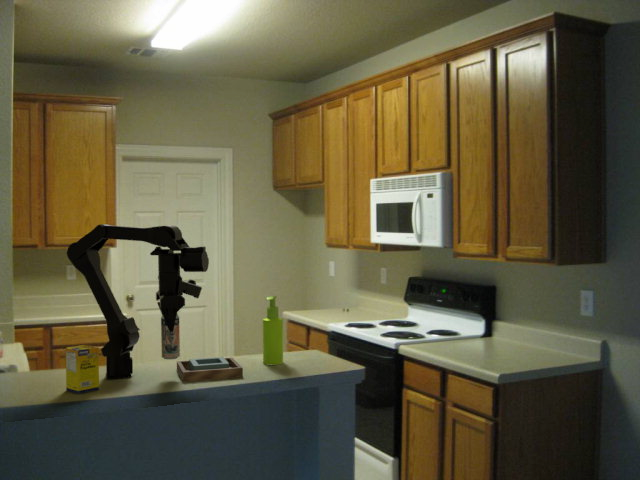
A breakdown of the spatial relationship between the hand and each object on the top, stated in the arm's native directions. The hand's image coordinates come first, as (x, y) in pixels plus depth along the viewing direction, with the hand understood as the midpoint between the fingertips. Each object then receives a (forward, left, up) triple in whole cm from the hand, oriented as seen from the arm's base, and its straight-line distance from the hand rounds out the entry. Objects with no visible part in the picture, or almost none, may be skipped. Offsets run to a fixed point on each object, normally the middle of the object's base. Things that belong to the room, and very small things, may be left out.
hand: (170, 329), depth 185 cm
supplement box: (-23, -6, -13) cm, 27 cm away
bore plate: (+10, +2, -13) cm, 17 cm away
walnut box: (+10, +2, -13) cm, 17 cm away
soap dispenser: (+30, +9, -13) cm, 34 cm away
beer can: (0, 0, -8) cm, 8 cm away
